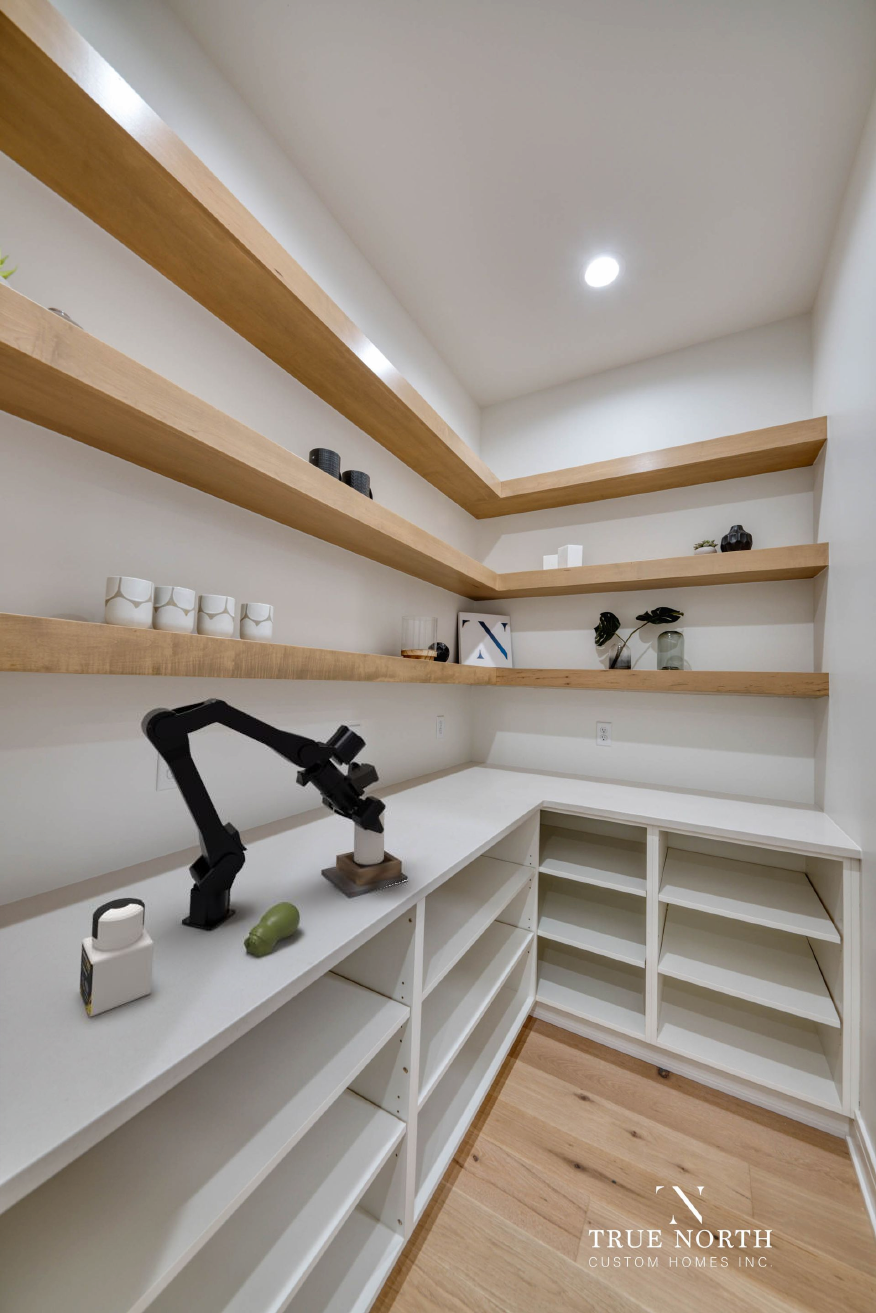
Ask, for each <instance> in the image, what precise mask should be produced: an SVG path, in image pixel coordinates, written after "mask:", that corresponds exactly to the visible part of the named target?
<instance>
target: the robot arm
mask: <svg viewBox="0 0 876 1313" xmlns="http://www.w3.org/2000/svg"><path fill="white" fill-rule="evenodd" d="M216 723H218V724H220V725H223V726H224V727H227V728H229V729H231V730H233V731H236V732H238V733H240V734H242V735H243V736H246V737H248V738H250V739H252V740H254V741H257V742H259V743H261V744H263V745H265V746H267V747H268V748H269V749H271V750H272V751H273V752H275V753H276V754H277V755H278V756H280V757H281V758H283V759H284V760H286V762H289V763H290V764H292V765H295V766H296V767H298V768H301V769H302V770H297V771H296V775H297V776H296V779H295V783H296V784H298V785H299V786H301V787H303V788H305V787H306V786H307V784H309V783H310V784H312V785H313V786H314V787H315V788H316V789H317V790H318V791H319V795H320V796H322V798H321V799H322V801H321V804H322V805H323V806H325V807H326V808H327V809H328V810H330V811H333V813H335V814H336V815H338V816H341V817H343V818H346V819H348V820H351V821H352V822H353V823H355V825H357V826H358V827H360V828H362V829H364V830H365V831H366V830H370V831H373V832H377V833H380V834H382V832H383V831H384V832H385V827H384V828H383V826H382V824H381V821H380V819H379V816H380V815H381V813H382V812H383V811H384V812H385V809H386V804H385V803H384V802H383V801H382V800H381V799H380V798H378V797H376V796H375V797H374V795H369V796H366V797H365V798H364V799H363V798H361V797H362V796H363V795H364V794H365V793H366V791H365V790H364V789H366V788H368V787H369V786H370V785H372V784H374V783H377V782H378V781H380V777H379V775H378V772H377V770H376V767H375V765H372V764H370V763H367V762H365V763H363V762H362V763H358V762H357V761H354V759H355V758H356V757H357V756H358V755H359V754H360V752H361V751H362V750H363V749H364V748H365V746H366V745H367V744H366V741H365V740H364V739H363V737H362V736H360V735H358V734H357V733H356V732H354V730H351V729H350V728H349V726H347V725H345V724H341V725H340V726H339V727H338V728H337V730H336V731H335V733H333V734H332V736H331V737H330V738H329V739H328V740H326V742H322V741H320V740H319V741H318V740H317V741H316V740H314V739H312V738H309V737H306V736H304V735H300V734H297V733H294V732H291V731H288V730H282V729H279V728H278V727H275V726H272V725H271V724H269V723H267V722H264V721H262V720H261V719H258V718H256V717H254V716H252V715H250V714H248V713H246V712H244V711H242V710H241V709H238V708H236V707H234V706H231V705H230V704H228V702H226V701H225V700H222V699H219V698H216V697H210V698H208V699H206V700H203V701H200V702H196V703H191V704H187V705H182V706H179V707H176V708H172V709H169V708H167V707H157V708H153V709H151V710H150V711H148V712H147V713H146V714H145V715H143V718H142V720H141V723H140V727H141V731H142V733H143V735H144V736H145V738H147V740H148V741H149V743H150V744H151V745H152V747H153V748H154V749H155V750H156V752H157V753H158V754H159V755H160V757H161V758H162V760H163V761H164V762H165V763H166V765H167V768H168V769H169V770H168V771H170V774H171V776H172V777H173V780H174V782H175V785H176V787H177V788H178V791H179V792H180V795H181V797H182V799H183V801H184V804H185V805H186V807H187V809H188V813H189V814H190V816H191V818H192V820H193V822H194V824H195V827H196V829H197V831H198V840H199V845H200V849H201V850H200V851H201V855H199V857H198V858H197V859H196V860H195V861H194V862H192V864H191V865H190V866H189V867H188V871H189V873H190V876H191V878H192V879H193V881H194V883H193V885H192V888H190V892H189V897H190V898H189V913H188V914H189V915H188V916H186V917H185V918H183V919H181V924H182V925H185V926H186V925H187V926H191V927H195V928H200V929H202V930H208V931H211V930H214V929H216V928H217V927H218V926H220V925H221V924H223V923H224V922H225V921H227V920H228V919H230V918H231V917H232V916H234V915H235V914H236V913H237V910H236V909H234V908H230V905H231V891H232V890H231V889H232V887H233V884H234V882H235V880H236V877H237V874H238V873H239V872H240V871H241V870H242V869H243V867H244V864H246V855H245V851H248V848H247V847H246V846H245V845H244V844H243V843H242V839H241V835H240V832H239V830H238V829H237V828H236V827H235V826H234V825H233V824H232V823H231V822H230V821H228V822H227V823H226V824H223V823H222V820H221V819H220V816H219V814H218V812H217V810H216V808H215V805H214V803H213V801H212V798H211V796H210V795H209V792H208V790H207V787H206V785H205V783H204V781H203V779H202V777H201V775H200V773H199V770H198V768H197V766H196V764H195V762H194V759H193V757H192V754H191V744H190V738H189V734H191V733H193V732H196V731H199V730H202V729H203V728H205V727H209V726H210V725H213V724H216ZM335 764H336V765H338V766H339V767H342V765H343V764H344V765H345V766H348V767H347V773H346V775H345V774H344V773H343V772H342V771H341V770H340V769H339V768H338V767H337V766H336V765H335Z"/></svg>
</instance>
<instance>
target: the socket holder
mask: <svg viewBox="0 0 876 1313" xmlns="http://www.w3.org/2000/svg"><path fill="white" fill-rule="evenodd" d="M335 857H336V860H335V861H336V862H335V865H334V866H332V867H328V868H324V869H321V872H320V874H321V876H322V877H323V878H325V879H326V880H327V881H328V882H330V884H332V885H333V886H334V887H335V888H336V889H337V890H339V891H340V892H341V893H342V894H344V895H345V896H346V897H347V898H348V899H350V898H351V899H352V898H355V897H359V896H361V894H362V895H364V894H367V893H368V892H369V893H371V891H372V892H375V891H374V890H376V891H378V890H377V889H379V890H381V889H380V888H383V889H385V888H384V887H386V886H389V885H392V884H395V883H399V882H402V881H404V880H407V879H408V880H409V878H408V877H409V876H408V875H406V874H404V873H403V872H402V867H403V861H402V860H401V859H399V858H398V857H395V856H394V855H393V854H391V853H390V852H388V851H386V850H384V859H383V860H382V862H381V863H379V864H376V865H359V864H357V863H356V862H355V861H354V851H351V852H346V853H341V854H337V855H336V856H335ZM389 887H390V886H389ZM386 888H387V887H386ZM369 893H368V894H369Z"/></svg>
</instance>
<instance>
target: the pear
mask: <svg viewBox="0 0 876 1313" xmlns="http://www.w3.org/2000/svg"><path fill="white" fill-rule="evenodd" d="M300 919H301V914H300V911H299V909H298V907H296V905H294V904H293V903H292V902H288V901H287V902H286V901H284V902H280V903H277V904H275V905H273V906H272V907H271V908H269V909H268V910H267V911H265V912H264V914H263V915H262V917H261V918H260V920H259V922H258V923H257V924H256V925H255V926H253V927H252V928H251V929H250V931H249V933H248V936H247V938H245V939H244V942H243V945H244V947H245V949H246V950H245V951H246V952H248V953H250V954H251V955H252V956H253V955H254V956H256V957H258V958H261V957H264V956H267V955H268V954H270V953H271V952H272V951H273V949H274V947H275V944H276V942H277V941H279V940H282V939H286V938H288V937H290V936H292V935H293V934H295V932H296V931H297V929H298V928H299V924H300V922H301V920H300Z"/></svg>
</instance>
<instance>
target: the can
mask: <svg viewBox="0 0 876 1313" xmlns="http://www.w3.org/2000/svg"><path fill="white" fill-rule="evenodd" d="M379 819H380V821H381V824H382V826H383V828H384V829H385V810H384V811H383V812H382V813H381V815H380V816H379ZM353 823H354V822H353ZM353 825H354V826H353V828H354V833H353V837H354V839H353V841H354V842H353V852H354V861H355V862H356V863H357V864H359V865H376V864H379V863H381V862H382V860H383V859H384V851H385V830H384V831H383V832H382V834H380V833H377V832H373V831H370V830H366V831H365V830H364V829H362V828H360V827H358V826H357V825H355V823H354V824H353Z"/></svg>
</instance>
